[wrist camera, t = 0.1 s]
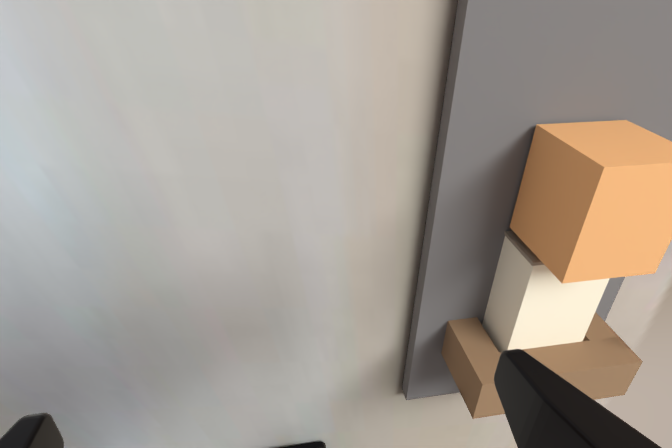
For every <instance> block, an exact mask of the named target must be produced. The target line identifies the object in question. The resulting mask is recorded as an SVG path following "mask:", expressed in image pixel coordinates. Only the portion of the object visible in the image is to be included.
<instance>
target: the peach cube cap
mask: <svg viewBox="0 0 672 448" xmlns="http://www.w3.org/2000/svg"><path fill="white" fill-rule="evenodd" d="M510 228H511V229H512V230H513V231H514V232H515V234H516V235H517V236H518V237H519V238H520V239H521V240H522V241H523V242H524V243H525V244H526V245H527V246H528V247H529V249H530V250H531V251H532V252H533V253H534V254H535V255H536V256H537V257H538V258H539V259H540V260H541V261H542V263H543V264H544V265H545V266H546V267H547V268H548V269H549V270H550V271H551V272H552V273H553V274H554V275H555V277H556V278H557V279H558V280H559V281H560V282H561V283H562V284H563V283H572V282H581V281H590V280H599V279H608V278H617V277H626V276H635V275H644V274H653V273H655V272H656V270H657V268H658V266H659V264H660V262H661V260H662V258H663V256H664V254H665V252H666V250H667V248H668V246H669V244H670V242H671V239H672V141H670V140H667V139H665V138H663V137H661V136H659V135H657V134H655V133H653V132H650V131H648V130H646V129H644V128H642V127H640V126H638V125H636V124H634V123H631V122H629V121H627V120H615V121H595V122H575V123H555V124H536V128H535V132H534V135H533V139H532V143H531V147H530V151H529V155H528V158H527V162H526V166H525V170H524V174H523V178H522V181H521V185H520V189H519V193H518V197H517V200H516V204H515V208H514V212H513V216H512V220H511V223H510Z"/></svg>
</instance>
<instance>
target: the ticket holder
mask: <svg viewBox="0 0 672 448" xmlns="http://www.w3.org/2000/svg"><path fill="white" fill-rule="evenodd" d="M615 120H627V121H629V122H631V123H634V124H636V125H638V126H640V127H642V128H644V129H646V130H648V131H650V132H653V133H655V134H657V135H659V136H661V137H663V138H665V139H667V140H670V141H672V0H458V4H457V11H456V18H455V25H454V32H453V39H452V46H451V53H450V60H449V67H448V74H447V81H446V88H445V95H444V102H443V108H442V115H441V122H440V129H439V136H438V143H437V150H436V157H435V164H434V171H433V178H432V185H431V192H430V199H429V206H428V213H427V219H426V226H425V233H424V240H423V247H422V254H421V261H420V268H419V275H418V282H417V289H416V296H415V303H414V310H413V317H412V324H411V330H410V337H409V344H408V351H407V358H406V365H405V372H404V379H403V386H402V390H403V392H404V395H405V398H406V400H410V399H417V398H424V397H430V396H437V395H444V394H451V393H458V392H460V393H461V395H462V397H463V399H464V401H465V403H466V405H467V408H468V410H469V412H470V414H471V416H472V418H473V419H474V418H481V417H487V416H493V415H500V414H505V412H504V409H503V406H502V404H501V401H500V398H499V396H498V393H497V390H496V387H495V384H494V374H495V371H496V367H497V364H498V361H499V357H500V354H501V353H502V352H503V351H505V350H513V349H521V350H524V351H525V352H527V353H528V354H530V355H531V356H532V357H534V358H535V359H537V360H538V361H539V362H541V363H542V364H544V365H545V366H547V367H548V368H549V369H551V370H552V371H554V372H555V373H556V374H558V375H559V376H561V377H562V378H563V379H565V380H566V381H568V382H569V383H571V384H572V385H573V386H575V387H576V388H578V389H579V390H580V391H582V392H583V393H585V394H586V395H588V396H589V397H590V398H592V399H593V400H595V399H601V398H607V397H614V396H620V395H625V393H626V391H627V389H628V387H629V385H630V383H631V382H632V380H633V378H634V376H635V375H636V372H637V371H638V369H639V367H640V365H641V364H642V361H641V359H640V358H639V357H638V356H637V355H636V354H635V353H634V352H633V351H632V350H631V349H630V348H629V347H628V346H627V345H626V344H625V343H624V341H623V340H622V339H621V338H620V337H619V336H618V335H617V334H616V333H615V332H614V331H613V330H612V329H611V328H610V327H609V326H608V325H607V324H606V322H605V320H606V318H607V315H608V313H609V311H610V309H611V306H612V304H613V302H614V300H615V298H616V295H617V293H618V291H619V289H620V287H621V284H622V282H623V280H624V278H625V277H617V278H608V279H599V280H590V281H581V282H572V283H563V284H562V283H561V282H560V281H559V280H558V279H557V278H556V277H555V275H554V274H553V273H552V272H551V271H550V270H549V269H548V268H547V267H546V266H545V265H544V264H543V263H542V261H541V260H540V259H539V258H538V257H537V256H536V255H535V254H534V253H533V252H532V251H531V250H530V249H529V247H528V246H527V245H526V244H525V243H524V242H523V241H522V240H521V239H520V238H519V237H518V236H517V235H516V234H515V232H514V231H513V230H512V229H511V228H510V223H511V220H512V216H513V212H514V208H515V204H516V200H517V197H518V193H519V189H520V185H521V181H522V178H523V174H524V170H525V166H526V162H527V158H528V155H529V151H530V147H531V143H532V139H533V135H534V132H535V128H536V124H555V123H575V122H595V121H615Z"/></svg>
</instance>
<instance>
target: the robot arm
mask: <svg viewBox="0 0 672 448" xmlns="http://www.w3.org/2000/svg"><path fill="white" fill-rule="evenodd" d="M494 384H495V387H496V390H497V393H498V396H499V398H500V401H501V404H502V406H503V409H504V412H505V414H506V417H507V420H508V422H509V425H510V428H511V431H512V433H513V436H514V439H515V441H516V444H517V446H518V448H661V447H660V446H658V445H657V444H655V443H654V442H653V441H651V440H650V439H648V438H647V437H646V436H644V435H643V434H641V433H640V432H638V431H637V430H636V429H634V428H633V427H631V426H630V425H629V424H627V423H626V422H624V421H623V420H621V419H620V418H619V417H617V416H616V415H614V414H613V413H611V412H610V411H609V410H607V409H606V408H605V407H603V406H602V405H600V404H599V403H597V402H596V401H595V400H593V399H592V398H590V397H589V396H588V395H586V394H585V393H583V392H582V391H580V390H579V389H578V388H576V387H575V386H573V385H572V384H571V383H569V382H568V381H566V380H565V379H563V378H562V377H561V376H559V375H558V374H556V373H555V372H554V371H552V370H551V369H549V368H548V367H547V366H545V365H544V364H542V363H541V362H539V361H538V360H537V359H535V358H534V357H532V356H531V355H530V354H528V353H527V352H525V351H524V350H521V349H513V350H505V351H503V352H502V353H501V354H500V357H499V361H498V364H497V367H496V371H495V374H494ZM0 448H64V442H63V438H62V436H61V434H60V432H59V430H58V428H57V426H56V424H55V422H54V420H53V418H52V416H51V415H50V414H48V413H39V414H32V415H27V416H24V417H22V418H21V419H19V420H18V421H17V422H16V423H15V424H14V425H13V426H12V427H11V428H10V430H9V431H8V432H7V433H6V434H5V435H4V436H3V437H2V438H1V439H0ZM285 448H326V445H325V443H323V442H317V443H311V444H304V445H298V446H292V447H285Z"/></svg>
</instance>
